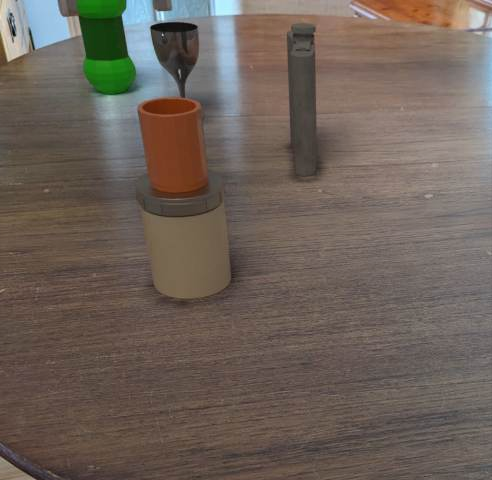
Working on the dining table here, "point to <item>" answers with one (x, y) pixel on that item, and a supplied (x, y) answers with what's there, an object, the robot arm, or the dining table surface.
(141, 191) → the jar lid
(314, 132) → the hip flask
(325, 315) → the dining table surface
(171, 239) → the jar
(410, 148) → the dining table surface
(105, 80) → the plastic bottle
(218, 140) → the dining table surface
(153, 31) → the wine glass
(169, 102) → the cup
